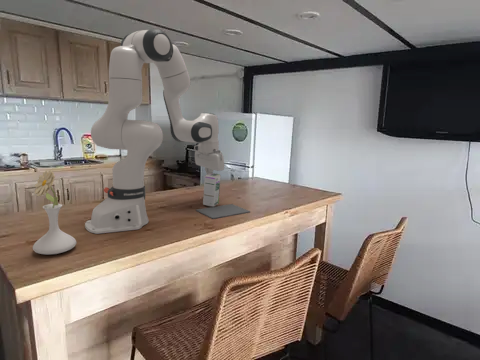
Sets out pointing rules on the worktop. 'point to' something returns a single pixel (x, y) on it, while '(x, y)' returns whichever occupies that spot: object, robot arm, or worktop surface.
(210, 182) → the syrup box
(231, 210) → the rubber mat
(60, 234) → the flower in vase
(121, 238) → the worktop surface
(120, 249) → the worktop surface
